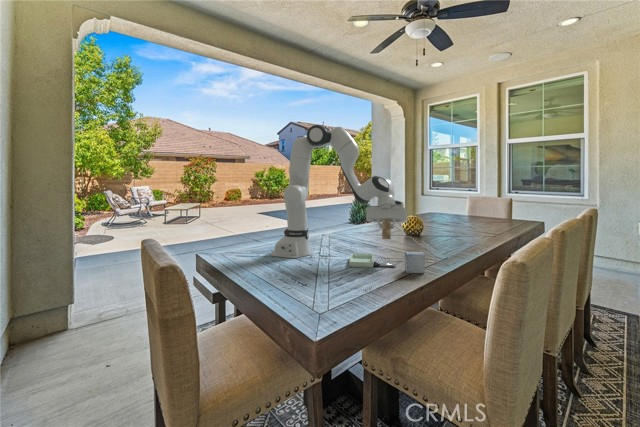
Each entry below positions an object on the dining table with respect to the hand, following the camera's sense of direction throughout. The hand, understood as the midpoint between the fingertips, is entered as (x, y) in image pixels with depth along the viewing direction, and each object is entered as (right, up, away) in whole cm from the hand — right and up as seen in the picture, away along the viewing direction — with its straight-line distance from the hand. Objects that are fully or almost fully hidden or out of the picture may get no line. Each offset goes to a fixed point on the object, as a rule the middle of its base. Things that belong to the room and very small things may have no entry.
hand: (386, 227), depth 151 cm
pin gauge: (-2, -18, -7) cm, 19 cm away
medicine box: (+9, -19, -15) cm, 26 cm away
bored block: (0, -5, 0) cm, 5 cm away
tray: (-12, -17, 0) cm, 21 cm away
